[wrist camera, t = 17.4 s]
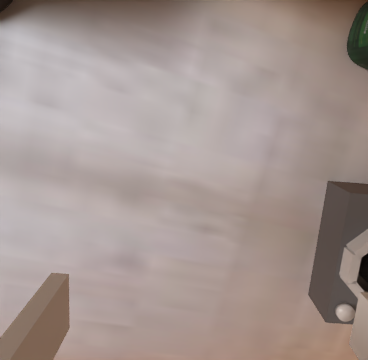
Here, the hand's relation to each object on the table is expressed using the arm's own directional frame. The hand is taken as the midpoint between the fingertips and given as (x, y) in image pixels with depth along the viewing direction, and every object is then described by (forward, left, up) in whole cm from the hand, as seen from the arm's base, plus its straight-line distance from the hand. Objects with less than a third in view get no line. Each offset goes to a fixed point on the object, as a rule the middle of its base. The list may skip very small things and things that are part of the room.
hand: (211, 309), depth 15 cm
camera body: (+7, +22, -28) cm, 36 cm away
